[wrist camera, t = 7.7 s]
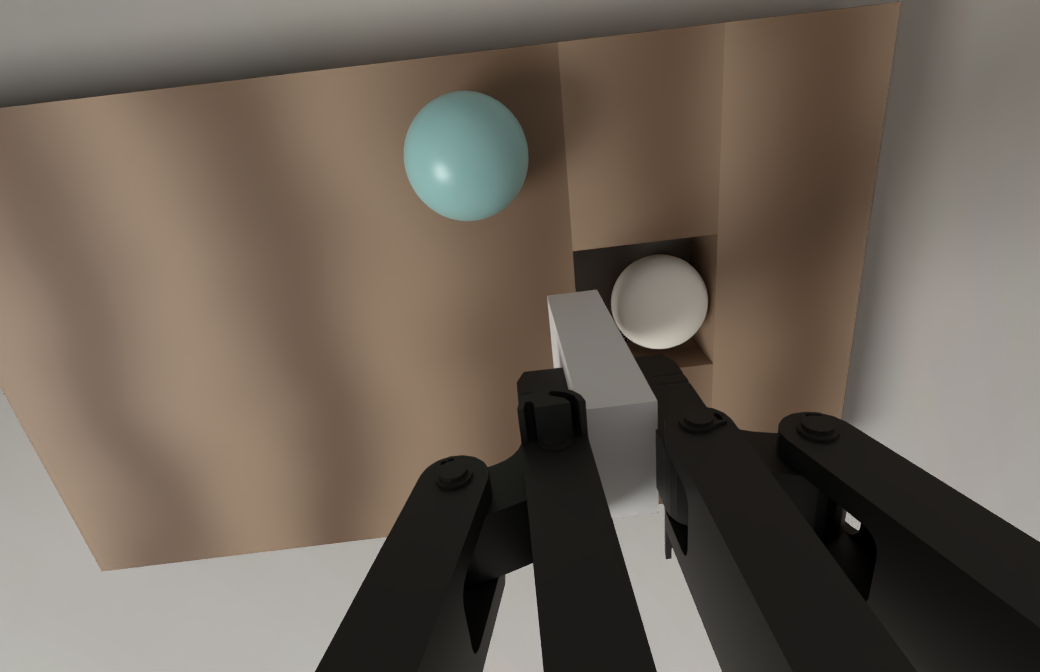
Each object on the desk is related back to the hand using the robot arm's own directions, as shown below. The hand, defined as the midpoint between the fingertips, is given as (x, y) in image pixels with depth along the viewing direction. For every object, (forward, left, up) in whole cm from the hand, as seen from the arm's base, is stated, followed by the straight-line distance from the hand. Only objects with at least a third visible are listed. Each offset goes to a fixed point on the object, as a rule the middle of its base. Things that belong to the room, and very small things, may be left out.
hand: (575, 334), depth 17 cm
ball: (+3, 0, -2) cm, 4 cm away
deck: (-5, 0, -4) cm, 6 cm away
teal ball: (-3, +6, 0) cm, 6 cm away
